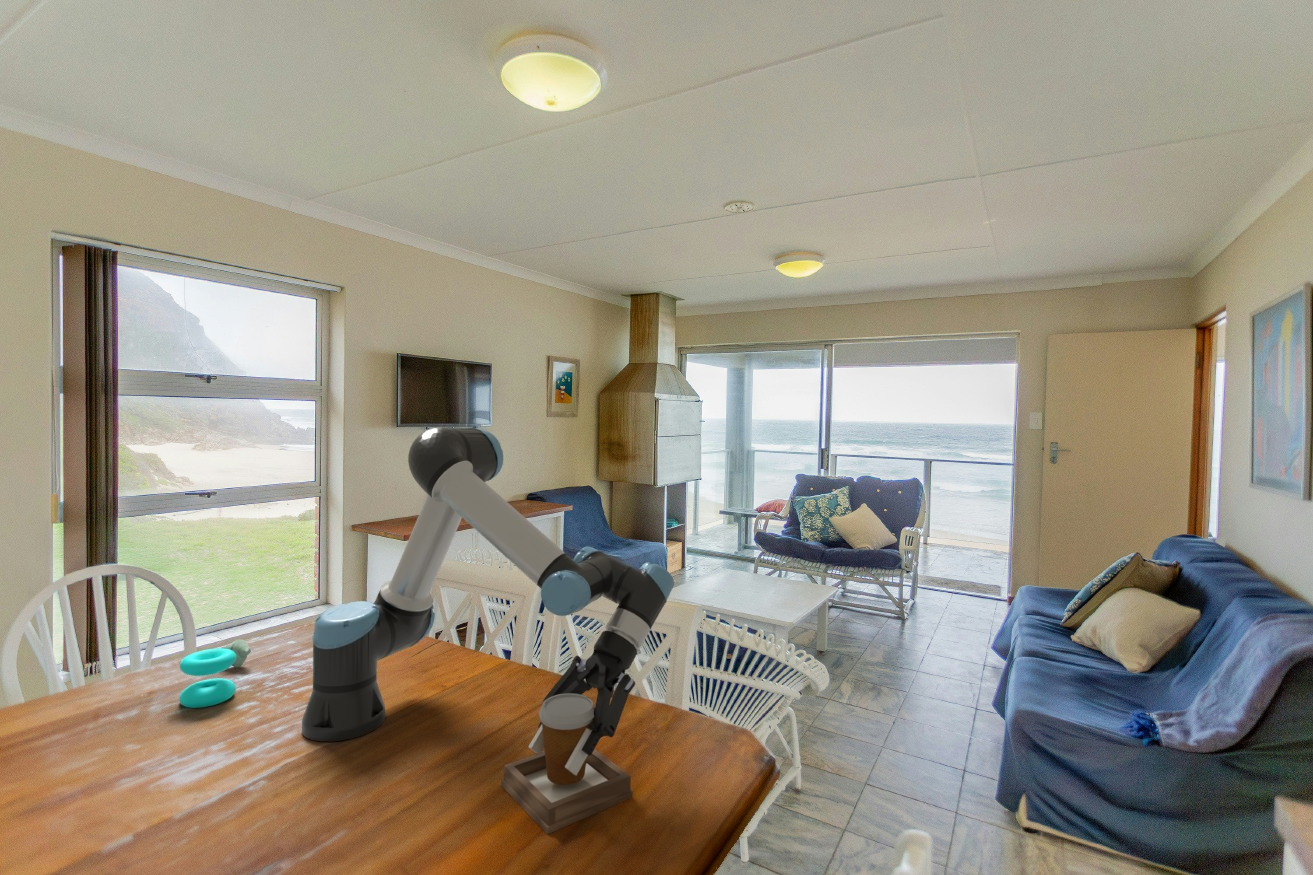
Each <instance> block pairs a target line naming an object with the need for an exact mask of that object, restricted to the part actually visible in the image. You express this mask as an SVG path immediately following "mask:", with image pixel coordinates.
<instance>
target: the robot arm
mask: <svg viewBox="0 0 1313 875" xmlns="http://www.w3.org/2000/svg"><path fill="white" fill-rule="evenodd" d="M407 459H408V460H407V462H408V469H409V471H410V474H411V475H412V478H413V479H414V480H415V482H416V484H418V486H419V487H420V488H421V489H422V490H423V491H424V492H425V493H426V494H427V495H426V497H425V500H424V503H423V504H422V507H421V510H420V512H419V515H417V519H416V521H415V524H414V526H413V528H412V531H411V534H410V535H409V538H408V540H407V543H406V546H405V548H404V550H403V552H402V555H401V557H400V559H399V562H398V563H397V567H396V569H395V571H394V574H393V576H392V578H391V580H388V581H387V582H384V583H382V585H381V586H380V589H379V591H378V594H377V596H376V599H375V601H374V602H371V601H366V600H363V601H362V600H361V601H360V600H359V601H357V600H356V601H351V602H350V601H349V602H348V603H340V604H337V605H333V606H331V607H329V608H328V609H326V610H324V611H322V612H321V613H320V614H318V616H317V618H316V619H315V622H314V629H313V630H314V631H313V635H312V644H313V645H312V692H311V694H310V697H309V700H308V702H307V704H306V705H307V706H306V708H305V711H304V713H303V716H302V721H301V733H302V734H301V735H303V736H304V737H305V738H306V739H308V740H311V741H317V742H324V743H325V742H329V743H330V742H340V741H345V740H351V739H355V738H358V737H361V736H363V735H366V734H369V733H370V732H372V731H375V730H376V729H377V728H379V727H380V726H382V724H383V723H384V721H385V719H386V705H385V701H384V698H383V696H382V693H381V690H380V687H379V684H378V681H377V680H378V678H377V674H378V672H377V671H378V670H377V669H378V661H381V660H382V659H384V658H386V657H390V656H391V655H393V654H396V653H398V652H400V651H403V650H405V649H407V648H410V647H413V646H414V645H416V644H418V643H419V642H420V641H422V640H423V639H425V637H427V635H428V634H429V633H430V632H431V630H432V628H433V626H434V623H435V618H436V616H435V615H436V614H435V612H434V611H433V610H434V609H435V608H434V604H433V603H434V598H433V597H434V596H433V595H432V594H431V591H432V589H433V586H434V584H435V581H436V579H437V577H438V575H439V572H440V569H441V567H442V565H443V563H444V560H445V558H446V556H447V554H448V551H449V549H450V547H451V545H452V542H453V540H454V537H455V535H456V532H457V530H458V528H459V526H460V524H461V521H462V519H463V520H464V521H465V522H466V523H468V524H469V525H470V526H471V527H472V528H473V529H474V530H475V531H477V532H478V533H479V534H480V535H481V536H482V537H483V538H484V539H485V540H487V541H488V542H489V543H490V544H491V546H493V547H494V548H496V549H497V550H498V551H499V552H500V553H501V554H502V555H503V556H504V557H505V558H507V560H509V561H510V563H512V564H513V565H514V566H515V567H517V569H518V570H520V571H521V572H522V573H523V574H524V575H525V576H526V577H527V578H528V579H530V580H531V581H532V582H533V583H534V584H535V585H536V586H538V588H539V589H540V597H541V598H540V599H541V600H542V603H543V605H544V607H545V610H547V611H548V612H550V613H551V614H553V615H555V616H559V617H566V616H569V615H572V614H574V613H578V612H579V611H582V610H583V609H584V608H586V607H587V606H588V605H590V604H592V603H593V602H595V601H598V599H601V598H602V597H603V598H605V599H607V600H609V601H611V602H613V603H615V604H618V605H617V607H616V609H615V611H614V612H613V614H612V615H611V617H610V619H609V620H608V622H607V623H606V624H605V627H604V629H605V630H603V631H602V632H601V633H600V635H599V637H598V639H597V640H596V641H595V643H594V645H593V651H592V652H593V653H592V654H591V655H590V656H589V657H588V658H587V659H585V658H581V657H580V656H579V655H575V656H574V657H573V660H572V662H571V663H570V666H569V667H568V669H566V671H565V672H564V673H563V674H562V676H561V677H560V678H559V679H558V680H557V682H556V684H554V685H553V687H552V688H551V690H550V691H549V692H548V693H547V694H546V695H545V697H544V698H543V699H542V703H543V702H544V701H545V700H546V699H548V698H549V697H552V696H555V695H559V694H567V693H573V694H580V695H584V693H585V692H589V691H590V690H591V689H592V688H593V689H597V696H596V699H595V700H596V702H595V706H594V707H595V711H594V718H593V722H592V725H591V726H590V725H589V728H590V729H591V730H589V729H587V728H586V730H585V731H584V733H583V735H582V737H581V739H580V740H579V742H578V744H577V746H576V747H575V749H574V751H573V753H572V755H571V756H570V758H569V760H568V762H567V763H566V765H565V768H566V769H568V770H569V771H570V772H571V773H573V774H574V775H576V776H577V774H578V772H579V770H580V768H581V766H582V765H583V763H584V761H585V759H586V757H587V755H589V756H590V755H591V754H592V753H593V751H594V749H595V750H596V747H597V745H598V743H599V742H600V740H601V739H602V738H603V737H608V738H612V737H614V736H615V734H616V730H617V728H618V726H619V723H620V720H621V717H622V714H623V711H624V708H625V705H626V703H627V699H628V697H629V695H630V693H631V691H632V690H633V689H634V687H635V686H636V681H635V680H634V679H633V678H632V677H631V676H630V675H629V674H628V673H626V671H627V670H629V669H630V668H631V666H632V664H633V662H634V660H635V659H636V658H637V655H638V650H639V649H641V647H642V646H643V644H644V642H645V640H646V639H647V636H648V635H649V633H650V631H651V629H652V628H653V626H654V624H655V622H656V621H657V618H658V617H659V615H660V614H661V612H662V610H663V608H664V607H665V605H666V604H667V602H668V598H669V596H670V595H671V592H672V590H673V588H674V586H675V581H674V576H672V574H671V573H670V572H669V570H667V569H666V568H665V567H663V566H661V565H659V564H657V563H652V562H649V561H647V562H645V563H642V565H641V566H640V567H639V568H635V567H633V566H630V565H628V564H627V563H625V562H622V561H620V560H619V559H617V558H615V557H614V556H613V557H612V556H611V555H609V554H607V553H606V552H604V551H603V550H599V549H596V548H594V547H591V546H585V547H582V548H581V549H580V550H579V551H578V552H577V553H576V555H575V556H574V558H571V557H570V556H569V555H568V554H567V553H566V552H565V551H563V550H562V549H561V548H560V547H559V546H558V545H557V544H555V543H554V542H553V541H552V540H551V539H550V538H548V536H547V535H546V534H544V533H543V532H542V531H541V530H539V529H538V528H537V527H536V526H535V524H533V523H532V522H531V521H529V520H528V519H527V518H526V517H525V516H524V515H522V513H520V512H519V511H518V510H517V509H516V508H515V507H514V506H512V505H511V503H509V502H508V501H507V500H505V499H504V498H503V497H502V496H501V494H499V493H498V492H496V490H494V489H493V488H492V487H491V486H490V485H488V483H486V482H489V481H491V480H493V479H494V478H495V477H497V475H499V473H500V472H501V470H502V467H503V465H504V451H503V449H502V446H501V442H500V441H499V440H498V438H497V437H496V436H495V435H494V434H493V433H491V432H490V431H488V430H486V429H482V428H476V427H472V426H470V427H469V426H468V427H446V426H445V427H444V426H443V427H442V426H440V427H433V428H430V429H427V430H425V431H423V432H421V433H420V434H419V435H418V436H417V437H416V438H415V439H414V440H413V442H412V444H411V446H410V447H409V451H408V456H407ZM616 684H617V685H616ZM615 685H616V687H615ZM528 748H529V749H530V750H532V752H534V753H535V754H538V755H540V754H541V753H542V752H544V751H543V750H545V749H544V739H543V728H542V722H541V721H540V722H539V723H538V730H537V732H536V733H535V735H534V736H533V738H532V740H531V741H530V743H529V744H528Z"/></svg>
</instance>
